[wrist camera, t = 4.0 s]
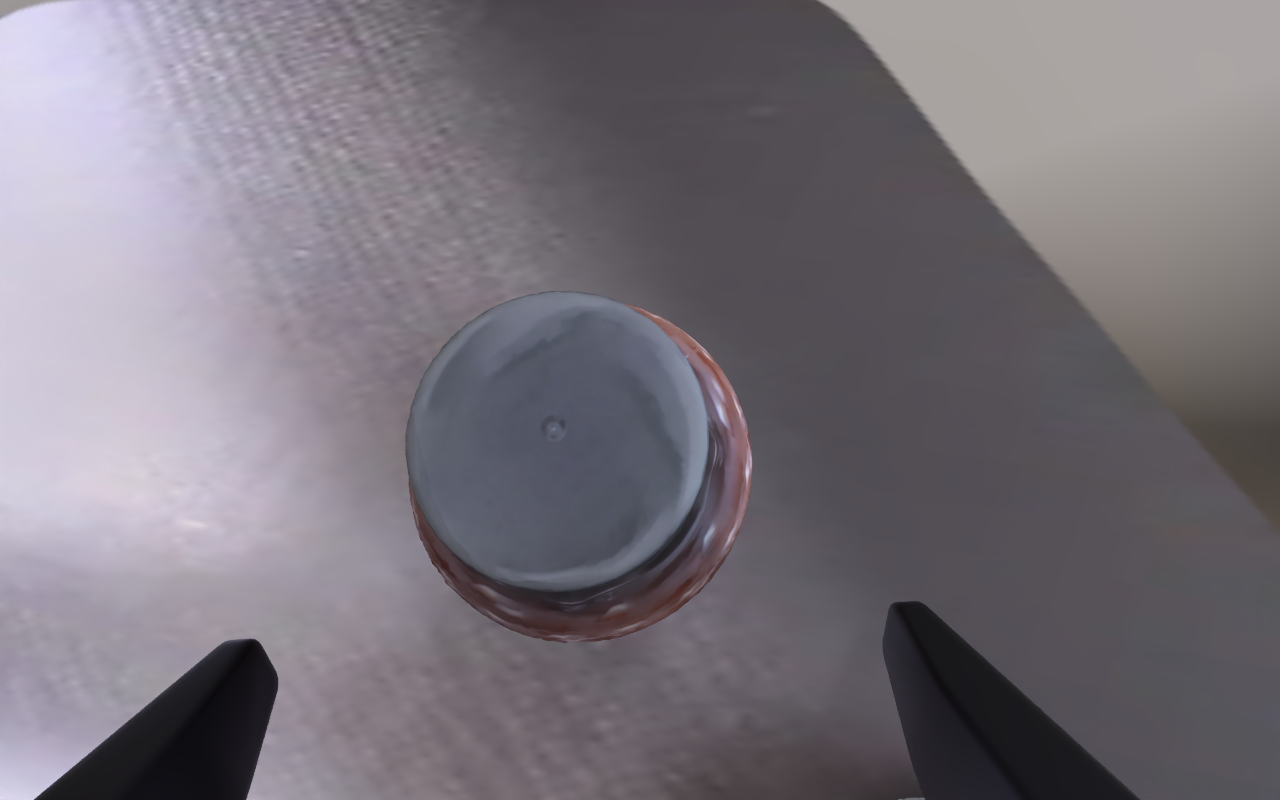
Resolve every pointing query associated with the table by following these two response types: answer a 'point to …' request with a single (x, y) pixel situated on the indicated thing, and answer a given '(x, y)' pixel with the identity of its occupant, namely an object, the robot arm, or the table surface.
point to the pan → (913, 799)
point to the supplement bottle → (576, 466)
